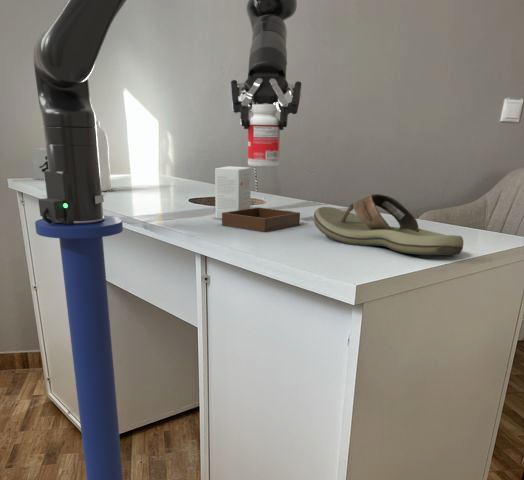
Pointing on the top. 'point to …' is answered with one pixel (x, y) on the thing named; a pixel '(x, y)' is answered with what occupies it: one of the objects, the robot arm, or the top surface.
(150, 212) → the top surface
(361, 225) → the flip flop
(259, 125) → the pill bottle
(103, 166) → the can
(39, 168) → the icon cube
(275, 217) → the tray
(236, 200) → the small box
